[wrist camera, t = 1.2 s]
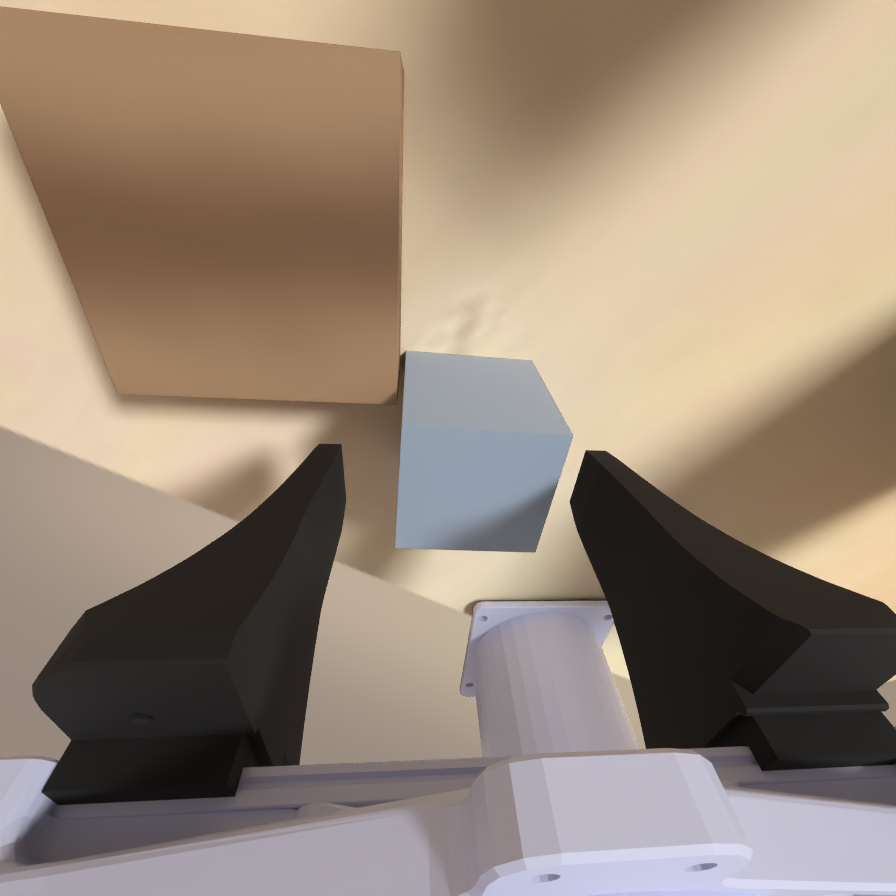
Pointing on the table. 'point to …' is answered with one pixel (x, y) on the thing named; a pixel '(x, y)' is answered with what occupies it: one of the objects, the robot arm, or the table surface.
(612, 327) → the table surface
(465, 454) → the blue block
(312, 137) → the walnut block
